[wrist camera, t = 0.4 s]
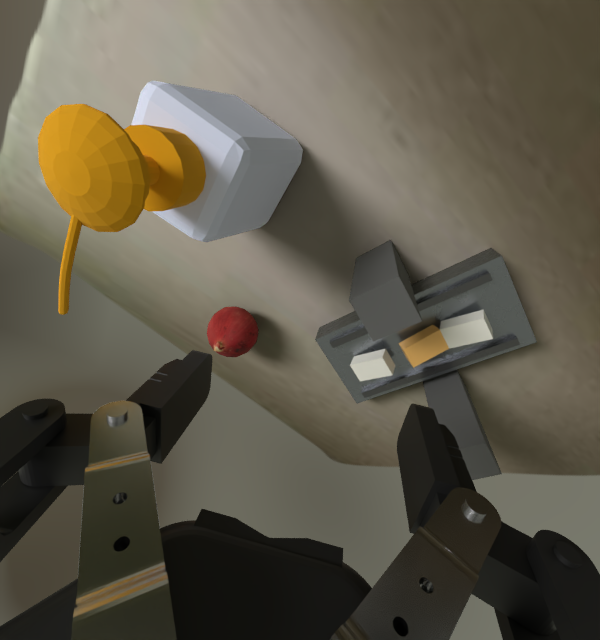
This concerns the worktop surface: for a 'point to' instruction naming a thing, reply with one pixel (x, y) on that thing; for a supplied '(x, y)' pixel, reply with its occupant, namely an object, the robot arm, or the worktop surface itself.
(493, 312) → the breaker panel
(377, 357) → the paddle
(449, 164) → the worktop surface
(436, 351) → the orange block
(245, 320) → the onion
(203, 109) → the soap bottle
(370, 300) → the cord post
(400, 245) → the worktop surface
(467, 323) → the paddle
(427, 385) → the cord post
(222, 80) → the worktop surface
